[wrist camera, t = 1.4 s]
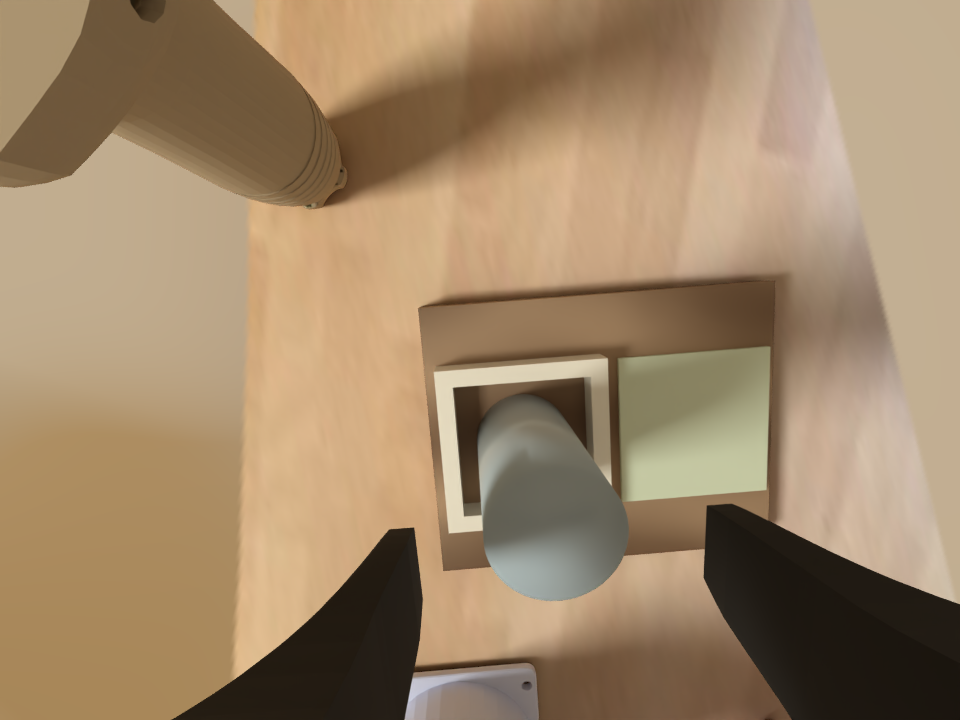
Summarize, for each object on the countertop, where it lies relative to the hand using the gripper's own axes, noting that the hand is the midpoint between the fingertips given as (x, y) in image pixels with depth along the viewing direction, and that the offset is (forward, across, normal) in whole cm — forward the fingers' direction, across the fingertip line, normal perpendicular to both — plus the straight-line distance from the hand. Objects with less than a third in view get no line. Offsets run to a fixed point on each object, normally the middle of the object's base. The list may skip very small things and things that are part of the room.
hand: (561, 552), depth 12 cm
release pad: (+9, -7, +1) cm, 12 cm away
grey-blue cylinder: (+9, 0, +1) cm, 9 cm away
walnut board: (+11, -3, +1) cm, 11 cm away
